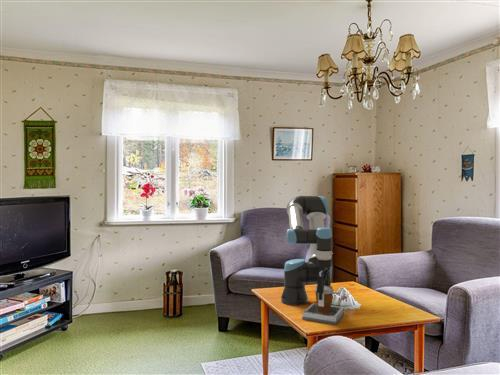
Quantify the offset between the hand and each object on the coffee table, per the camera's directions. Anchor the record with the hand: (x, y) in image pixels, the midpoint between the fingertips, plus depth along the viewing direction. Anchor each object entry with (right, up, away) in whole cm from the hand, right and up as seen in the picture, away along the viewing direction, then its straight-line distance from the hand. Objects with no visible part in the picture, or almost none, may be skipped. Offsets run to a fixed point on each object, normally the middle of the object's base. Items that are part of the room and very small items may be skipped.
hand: (323, 303), depth 202 cm
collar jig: (0, -7, 0) cm, 7 cm away
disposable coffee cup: (0, -4, 0) cm, 4 cm away
